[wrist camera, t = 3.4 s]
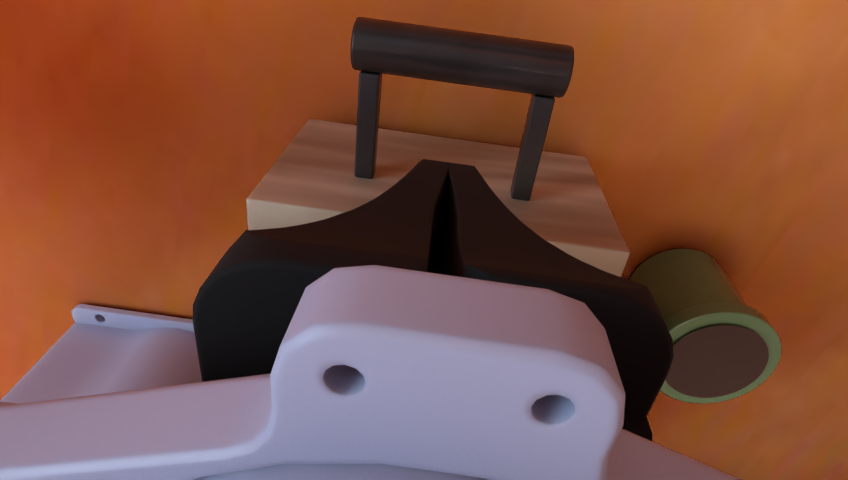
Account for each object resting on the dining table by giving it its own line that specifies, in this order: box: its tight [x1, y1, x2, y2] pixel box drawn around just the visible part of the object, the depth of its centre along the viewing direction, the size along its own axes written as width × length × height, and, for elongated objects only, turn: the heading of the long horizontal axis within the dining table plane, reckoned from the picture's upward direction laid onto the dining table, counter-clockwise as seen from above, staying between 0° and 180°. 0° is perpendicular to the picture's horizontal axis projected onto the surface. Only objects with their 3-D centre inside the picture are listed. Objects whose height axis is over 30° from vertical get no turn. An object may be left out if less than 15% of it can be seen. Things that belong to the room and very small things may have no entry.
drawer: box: [246, 17, 630, 277], centre depth 20 cm, size 17×11×7 cm, turn 174°
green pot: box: [629, 249, 781, 403], centre depth 22 cm, size 5×5×5 cm
